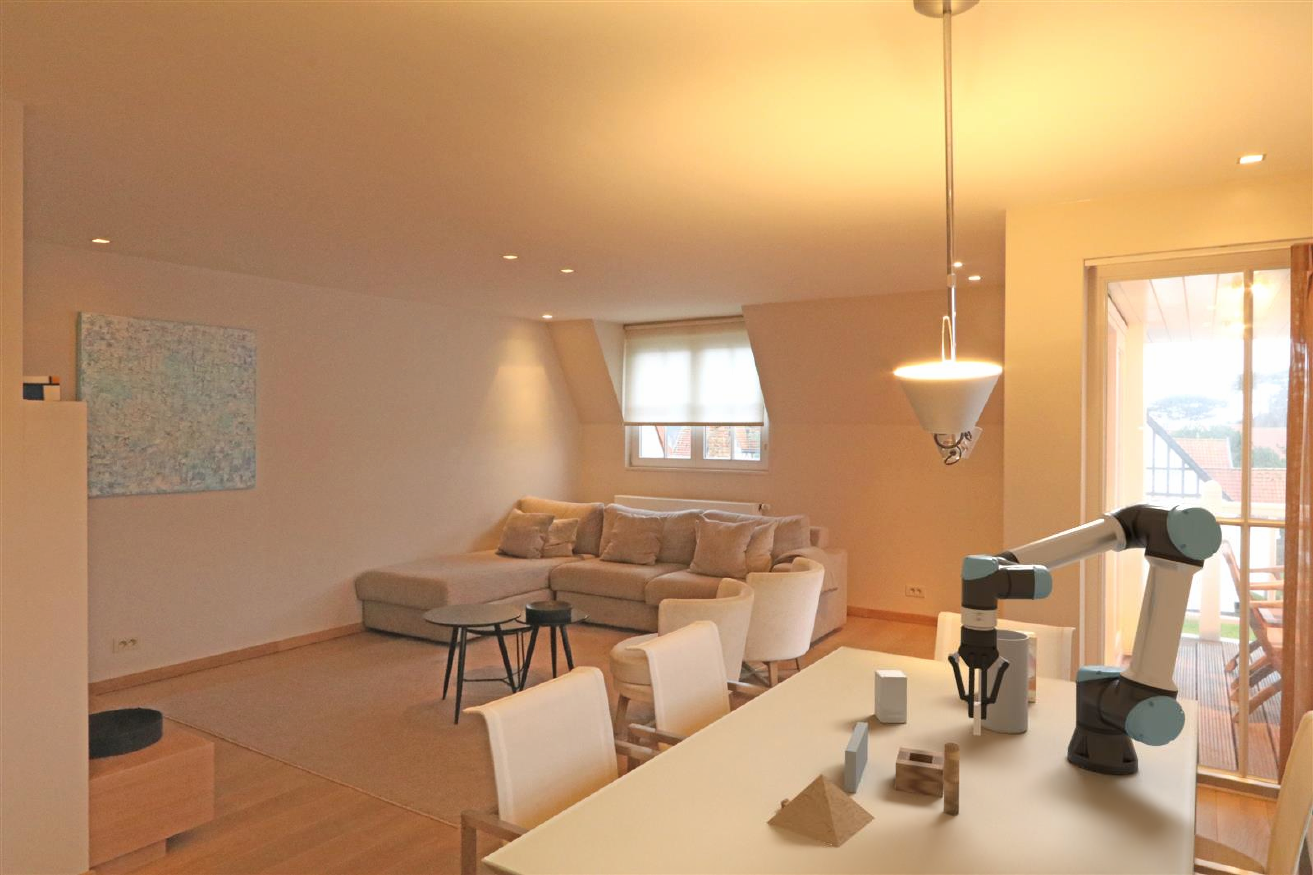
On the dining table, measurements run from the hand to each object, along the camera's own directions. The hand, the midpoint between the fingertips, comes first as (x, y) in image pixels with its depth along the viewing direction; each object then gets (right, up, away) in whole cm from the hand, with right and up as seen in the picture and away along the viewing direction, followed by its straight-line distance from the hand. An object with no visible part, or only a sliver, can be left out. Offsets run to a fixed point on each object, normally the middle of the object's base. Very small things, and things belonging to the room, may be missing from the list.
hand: (977, 733), depth 187 cm
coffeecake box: (+35, -13, +69) cm, 79 cm away
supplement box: (-6, -13, +49) cm, 51 cm away
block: (-11, -13, +4) cm, 18 cm away
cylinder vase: (+23, -13, +43) cm, 50 cm away
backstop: (-24, -13, +10) cm, 29 cm away
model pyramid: (-37, -14, -13) cm, 42 cm away
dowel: (-9, -13, -9) cm, 18 cm away
